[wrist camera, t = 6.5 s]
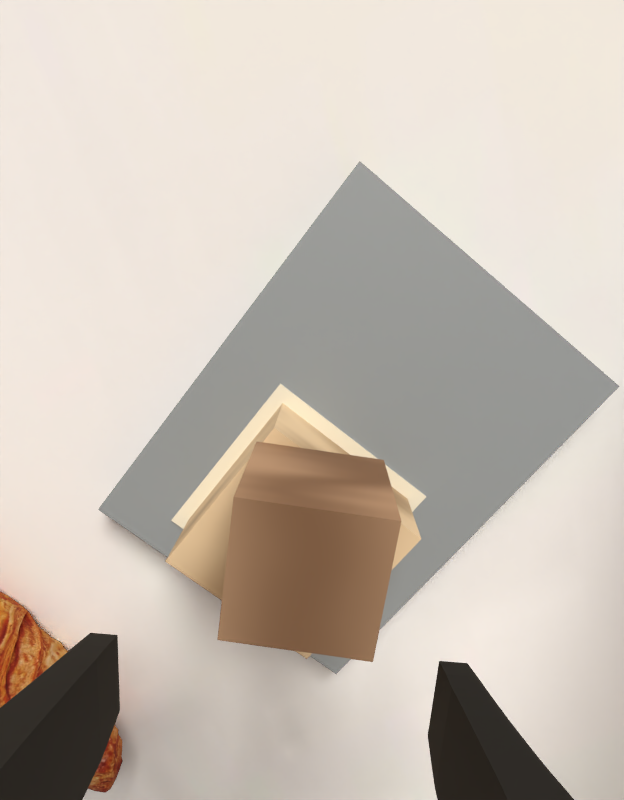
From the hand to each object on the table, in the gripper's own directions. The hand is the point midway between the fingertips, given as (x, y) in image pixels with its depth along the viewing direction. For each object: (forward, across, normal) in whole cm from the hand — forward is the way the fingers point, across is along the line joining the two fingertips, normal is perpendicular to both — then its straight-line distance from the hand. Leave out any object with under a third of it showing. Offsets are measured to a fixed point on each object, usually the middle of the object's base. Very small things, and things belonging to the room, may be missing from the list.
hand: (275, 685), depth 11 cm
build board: (+10, -2, -2) cm, 10 cm away
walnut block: (+6, 0, -2) cm, 6 cm away
